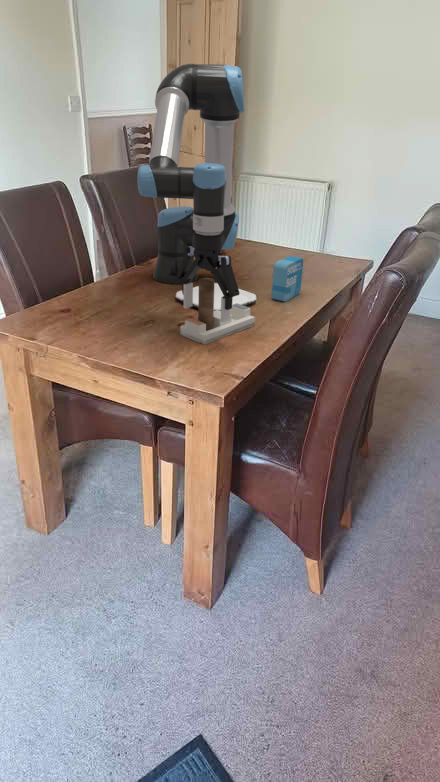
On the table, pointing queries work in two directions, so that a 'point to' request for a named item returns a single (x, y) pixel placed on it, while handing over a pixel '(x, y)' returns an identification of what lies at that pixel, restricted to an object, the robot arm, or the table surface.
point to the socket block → (218, 325)
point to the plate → (241, 299)
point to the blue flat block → (287, 278)
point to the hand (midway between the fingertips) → (206, 313)
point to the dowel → (206, 302)
